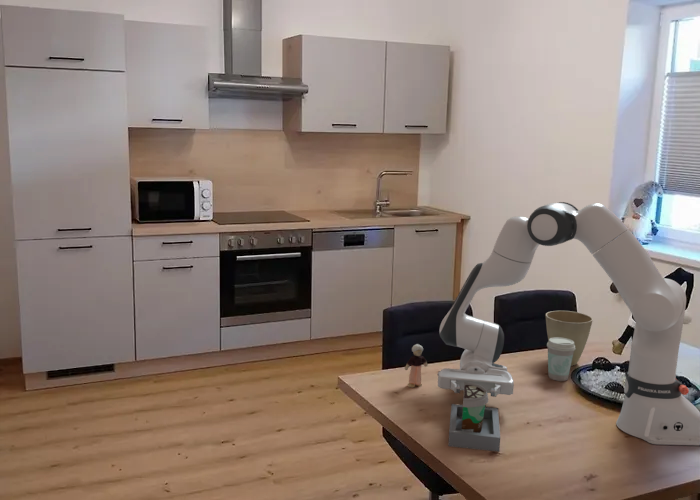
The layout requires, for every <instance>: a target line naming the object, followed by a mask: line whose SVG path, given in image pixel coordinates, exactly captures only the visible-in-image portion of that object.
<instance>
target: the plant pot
mask: <svg viewBox="0 0 700 500" xmlns="http://www.w3.org/2000/svg"><path fill="white" fill-rule="evenodd" d="M593 320H594V319H593V317H592V316H590V315H588V314H585V313H583V312H578V311H573V310H572V311H570V310H553V311H548V312H546V313H545V324H546V334H547V340H548V341H549V339H550V338H555V337H559V338H566V339H570V340H572V341H573V342H574V345H575V350H574V353H573V358H572V362H571V367H573V365H574V366H576V365H577V364H578V362H579V361H580V358H581V357H582V354H583V352H584V350H585V347H586V344H587V342H588V339H589V336H590V334H591V333H590V332H591V328H592V324H593V322H594V321H593Z"/></svg>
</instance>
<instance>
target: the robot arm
mask: <svg viewBox="0 0 700 500" xmlns="http://www.w3.org/2000/svg"><path fill="white" fill-rule="evenodd" d="M573 239H574V240H578V241H579V242H581V244H582V245H583V246H585V248H586V249H587V250H588V252H589V253H590V254H591V255H592V257H593V258H594V259H595V261H596V262H597V263H598V264H599V266H600V267H601V268H602V269H603V271H604V272H605V274H606V275H607V276H608V277H609V279H610V280H611V281H612V283H613V285H614V286H615V288H616V290H617V292H618V294H619V295H620V297H621V299H622V300H623V301H624V304H625V305H626V306H627V308H628V310H629V312H630V313H631V315H632V317H633V320H634V321H635V326H634V331H633V337H632V340H631V344H630V354H629V355H630V356H629V362H628V363H629V364H628V371H627V372H626V377H625V379H624V380H625V381H624V389H623V391H624V399H623V403H622V407H621V409H620V411H619V415H618V418H617V420H616V423H615V424H616V426H617V427H618V429H620V430H621V431H623V432H624V433H626V434H628V435H630V436H633V437H635V438H639V439H642V440H644V441H645V442H647V443H649V444H652V445H665V446H667V445H669V446H670V445H671V446H700V411H699V409H698V408H697V407H696V406H695V405H694V404H693V403H692V402H691V401H690V400H689V399H688V398H686V397H685V396H687V395H688V394H689V392H690V389H689V388H688V387H687V386H686V385H685V384H683V383H682V382H681V381H680V380H679V379H677V378H676V375H677V369H678V368H677V367H678V358H679V349H680V345H681V339H682V333H683V327H684V320H685V313H686V305H687V295H686V292H685V289H683V287H682V285H681V284H679V283H678V282H677V281H675V280H673V279H671V278H665V277H663V276H662V274H661V273H660V271H659V270H658V267H656V265H655V263H654V261H653V260H652V258H651V255H650V254H649V252H648V251H647V250H646V249H645V247H644V246H643V245H642V244H641V242H640V241H639V239H637V237H636V236H635V235H634V234H633V233H632V231H631V230H630V229H629V228H628V227H627V225H626V224H625V223H624V222H623V221H622V220H621V219H620V217H618V216H617V215H616V214H615V213H614V212H613V211H612V210H611V209H609V208H608V207H607V206H606V205H604V204H602V203H599V202H598V203H597V202H596V203H595V202H594V203H590V204H588V205H586V206H584V207H582V208H581V209H580V210H579V209H578V208H577V207H576V206H575V205H573V204H571V203H569V202H564V201H559V202H550V203H547V204H544V205H542V206H540V207H537V208H536V209H535V210H534V211H532V213H531V214H530V216H529V217H525V216H520V215H518V216H512V217H510V218H508V219H506V222H505V223H504V225H503V227H502V228H501V230H500V232H499V234H498V236H497V238H496V241H495V244H494V246H493V249H492V252H491V253H490V255H489V256H488V257H487V259H485V260H484V261H483V262H480V263H477V264H476V265H475V266H474V267H473V268H472V270H471V272H470V273H469V275H468V277H467V278H466V280H465V282H464V283H463V286H462V287H461V289H460V291H459V293H458V295H457V296H456V297H455V300H454V302H453V303H452V306H451V307H450V309H449V310H448V312H447V314H446V315H445V316H444V318H443V319H442V321H441V323H440V325H439V331H438V332H439V337H440V338H441V340H442V341H443V343H444V344H445V345H447V346H452V347H456V348H462V349H464V351H463V352H462V354H461V356H460V360H459V368H451V367H450V368H447V367H446V368H442V369H441V370H438V372H437V387H438V388H439V389H445V390H451V391H454V392H453V393H454V394H460V393H461V391H464V382H468V383H473V384H477V385H479V386H481V387H483V388H485V389H486V391H487V394H490V397H493V398H494V397H495V398H496V397H497V396H498V395H505V396H511V395H513V394H514V388H515V387H514V386H515V384H514V382H515V381H514V378H513V376H512V374H511V372H509V371H508V367H507V366H506V365H502V364H499V363H498V364H497V363H496V362H497V361H499V360H500V357H501V355H502V352H503V349H504V344H505V333H504V331H503V328H502V327H501V325H500V324H498V323H495V322H491V321H488V320H485V319H481V318H477V317H474V316H472V315H468V314H466V311H467V309H468V308H469V306H470V304H471V303H472V301H473V299H474V297H475V295H476V294H477V292H479V291H480V290H483V289H486V288H497V287H500V288H501V287H509V286H513V285H515V284H518V283H520V282H521V281H523V280H524V279H525V277H526V276H527V273H528V272H529V270H530V267H531V265H532V262H533V259H534V257H535V253H536V251H537V250H538V247H539V246H540V245H541V246H544V247H552V246H557V245H560V244H563V243H567V242H568V241H572V240H573Z"/></svg>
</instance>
